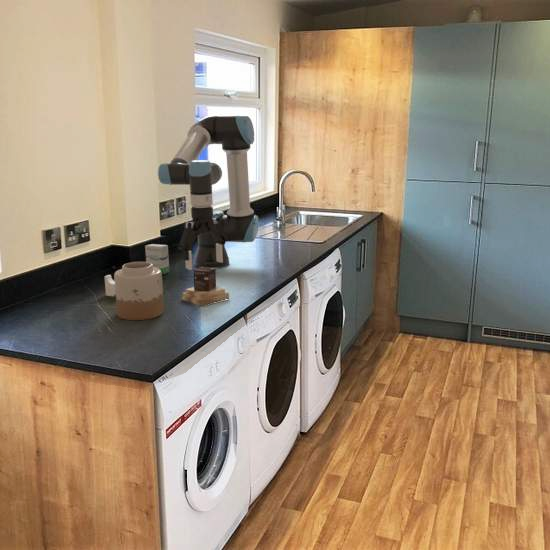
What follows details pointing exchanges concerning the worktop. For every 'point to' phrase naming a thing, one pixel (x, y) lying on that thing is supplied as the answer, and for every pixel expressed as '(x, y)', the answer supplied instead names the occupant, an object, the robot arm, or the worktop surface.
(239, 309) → the worktop surface
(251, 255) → the worktop surface
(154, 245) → the ink box
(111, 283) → the bracket
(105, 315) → the worktop surface
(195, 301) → the plinth
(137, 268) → the vase
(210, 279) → the box
